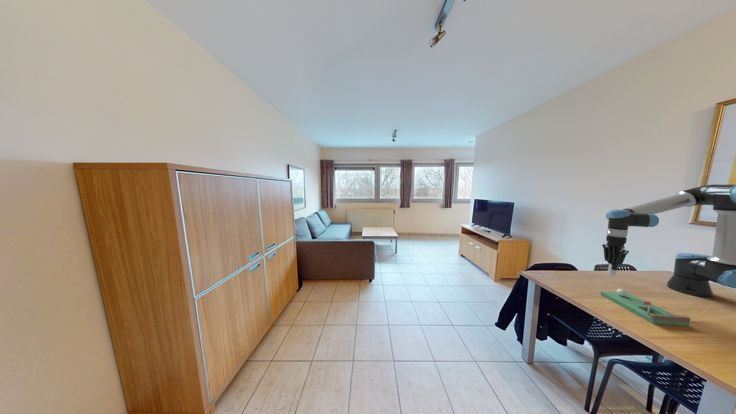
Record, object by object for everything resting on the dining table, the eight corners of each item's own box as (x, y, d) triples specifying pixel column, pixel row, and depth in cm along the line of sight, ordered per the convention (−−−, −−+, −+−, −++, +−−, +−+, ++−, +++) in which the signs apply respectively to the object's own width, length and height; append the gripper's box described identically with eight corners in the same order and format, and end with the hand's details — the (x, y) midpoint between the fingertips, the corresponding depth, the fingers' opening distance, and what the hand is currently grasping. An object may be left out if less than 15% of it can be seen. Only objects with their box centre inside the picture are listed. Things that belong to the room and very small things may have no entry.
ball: (622, 294, 119) (622, 287, 119) (629, 297, 115) (630, 291, 115) (614, 293, 120) (614, 287, 119) (621, 297, 116) (622, 290, 115)
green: (628, 296, 121) (630, 281, 120) (689, 326, 95) (692, 308, 94) (598, 294, 123) (600, 280, 122) (650, 323, 97) (652, 305, 96)
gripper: (598, 233, 127) (594, 269, 130) (620, 238, 114) (615, 278, 117) (612, 233, 126) (608, 270, 129) (636, 239, 113) (630, 279, 116)
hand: (611, 274), depth 123 cm, fingers closed
